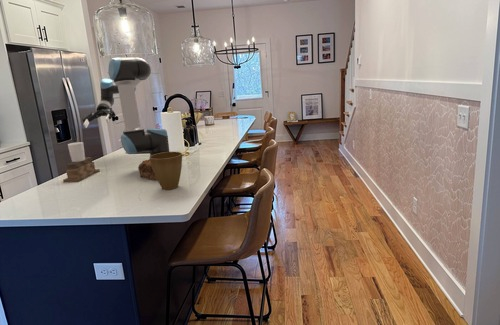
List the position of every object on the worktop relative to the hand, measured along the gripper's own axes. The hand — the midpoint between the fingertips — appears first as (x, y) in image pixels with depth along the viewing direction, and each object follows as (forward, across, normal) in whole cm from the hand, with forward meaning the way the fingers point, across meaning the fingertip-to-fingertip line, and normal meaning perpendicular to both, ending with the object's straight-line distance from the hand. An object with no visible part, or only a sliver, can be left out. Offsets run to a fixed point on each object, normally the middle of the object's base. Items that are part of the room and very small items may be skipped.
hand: (96, 123), depth 199 cm
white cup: (+20, +11, -11) cm, 25 cm away
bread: (+40, -34, -22) cm, 56 cm away
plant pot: (+61, -44, -15) cm, 76 cm away
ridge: (+23, +12, -20) cm, 33 cm away
